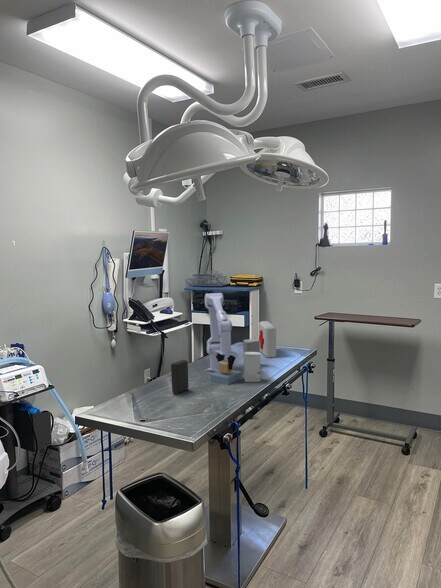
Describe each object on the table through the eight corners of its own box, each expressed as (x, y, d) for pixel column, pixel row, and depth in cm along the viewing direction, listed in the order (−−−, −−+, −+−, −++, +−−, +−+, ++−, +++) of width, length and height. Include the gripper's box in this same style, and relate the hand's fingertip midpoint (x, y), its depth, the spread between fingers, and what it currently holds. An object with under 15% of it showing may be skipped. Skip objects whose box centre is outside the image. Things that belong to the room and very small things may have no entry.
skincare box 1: (256, 363, 261) (255, 337, 259) (260, 366, 254) (260, 340, 252) (242, 365, 258) (242, 339, 256) (247, 368, 251) (246, 341, 250)
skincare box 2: (245, 382, 226) (244, 354, 225) (244, 378, 232) (243, 351, 231) (261, 381, 226) (260, 353, 225) (259, 378, 232) (259, 351, 231)
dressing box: (225, 375, 240) (225, 368, 240) (241, 379, 233) (241, 371, 233) (210, 382, 230) (210, 374, 229) (227, 385, 223) (227, 378, 223)
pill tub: (225, 369, 235) (224, 359, 234) (232, 371, 232) (232, 360, 231) (219, 371, 231) (219, 361, 230) (227, 373, 227) (227, 363, 227)
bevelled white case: (257, 350, 293) (257, 321, 291) (269, 349, 294) (268, 320, 292) (264, 358, 273) (263, 327, 270) (276, 357, 273) (276, 326, 271)
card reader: (183, 388, 220) (182, 359, 218) (189, 389, 218) (188, 360, 216) (171, 393, 213) (170, 363, 211) (177, 394, 210) (176, 364, 209)
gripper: (209, 343, 231) (210, 368, 232) (232, 346, 222) (233, 372, 223) (217, 340, 236) (218, 365, 238) (240, 343, 228) (240, 369, 229)
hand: (226, 368), depth 231 cm, fingers closed on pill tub, 5 cm apart
